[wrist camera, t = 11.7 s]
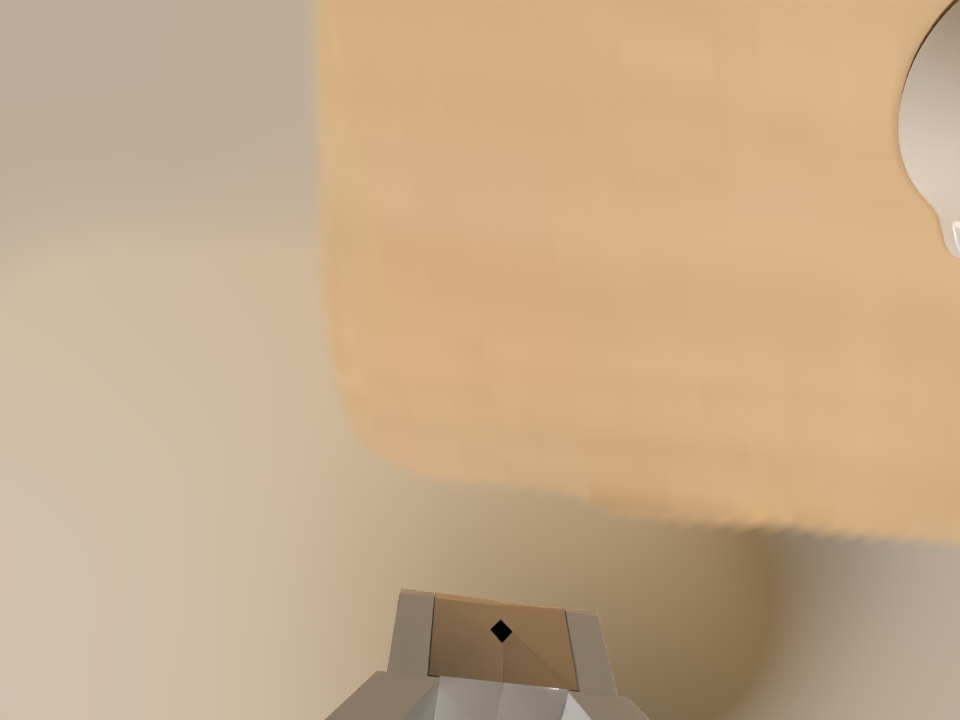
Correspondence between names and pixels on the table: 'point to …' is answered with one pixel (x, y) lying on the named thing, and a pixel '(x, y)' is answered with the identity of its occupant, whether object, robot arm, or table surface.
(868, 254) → the table surface
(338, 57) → the table surface
